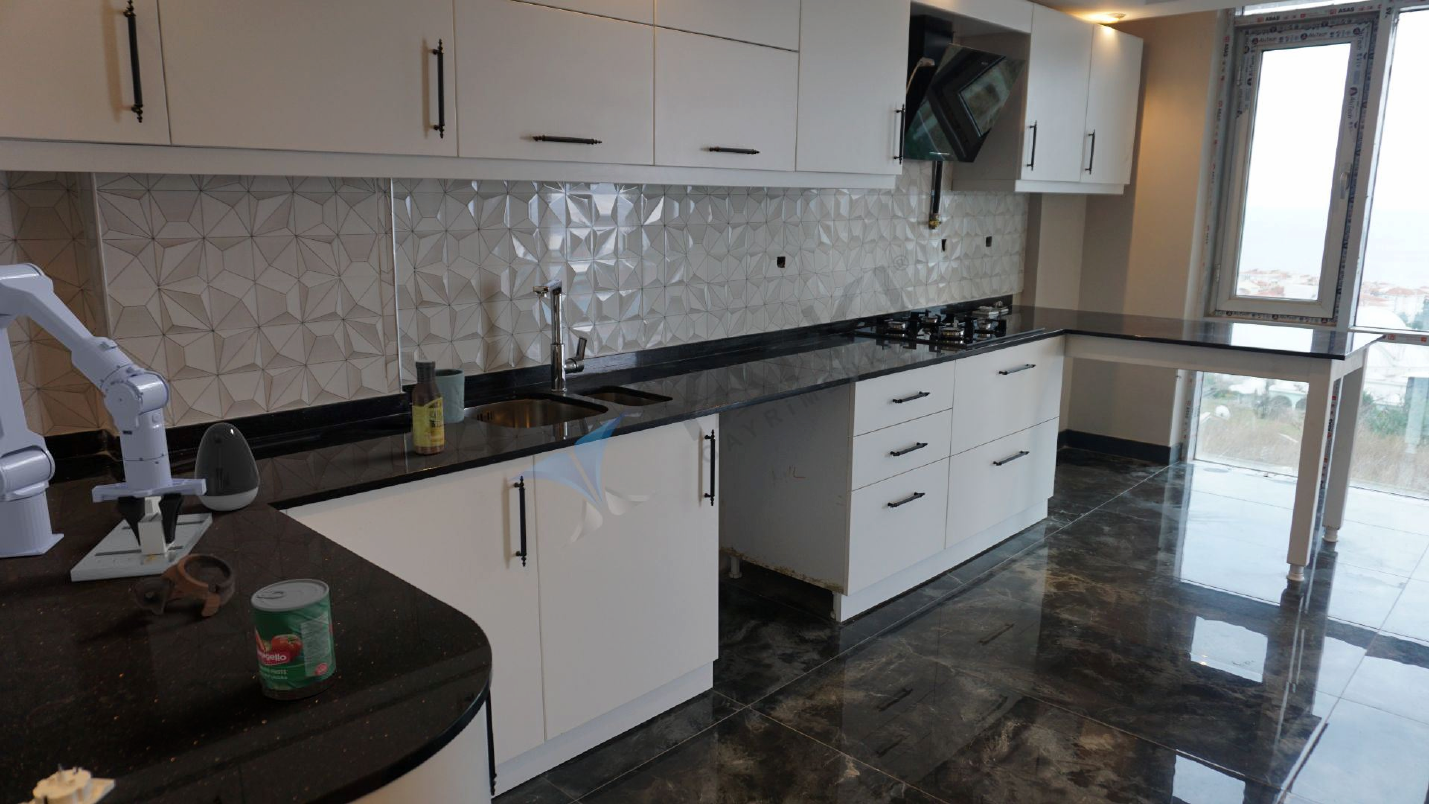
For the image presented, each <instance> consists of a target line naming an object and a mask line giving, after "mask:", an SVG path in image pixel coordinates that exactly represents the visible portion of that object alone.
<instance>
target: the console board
mask: <svg viewBox="0 0 1429 804" xmlns="http://www.w3.org/2000/svg"><path fill="white" fill-rule="evenodd" d="M212 523H213V516H212V512H208V513H207V512H206V513H193V514H192V513H191V514H180V515H179V516H178V520H177V525H176V532H175V540H174V541H173V544H172V545H171V546H170V548H169V549H168V550H167V551H166V552H165V553H163V554H151V555H142V550H141V546H139V544H138V541H137V539H136V537H135V535H134V533H133V531H132V529H131V527H130V526H129V524H128V523H127V521H126V520H125V519H124V518H123V520H122V521H121V522H120V523H119V524H118V525H116V526H115V528H113V529H112V530H111V531H110V532H109V533H108V534H107V535H106V536H105V537H104V538H103V539H102V540H101V541H100V542H99V543H98V544H97V545H96V546H95V547H93V548H92V550H90V552H88V553H87V554H86V555H85V556H84V557H83V558H82V559H81V560H79V562H78V563H77V564H76V565H75V566H74V567H73V568H72V569H71V570H70V577H71V578H70V579H71V582H79V581H81V582H83V581H92V580H103V579H104V580H105V579H114V578H115V579H116V578H127V577H139V576H140V577H141V576H149V575H160V574H161V575H162V574H163V573H164V571H165V570H167V569H168V568H169V567H171V566H172V565H174V564H176V563H178V561H179V560H180V559H181V558H182V557H184V556H186V555H189V553H190V551H191V550H192V549H193V548H194V547H195V546H196V544H197V543H198V541H199V540H200V539H201V537H202V536H203V535H204V533H205V532H206V531H207V530H208V529H209V527H210V526H211V525H212Z"/></svg>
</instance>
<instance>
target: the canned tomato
mask: <svg viewBox="0 0 1429 804" xmlns="http://www.w3.org/2000/svg"><path fill="white" fill-rule="evenodd" d="M329 592H330V588H329V585H328V584H327V583H325V582H324V581H321V580H318V579H311V578H300V579H299V578H296V579H295V578H294V579H288V580H283V581H278V582H275V583H272V584H269V585H267V586H265V587H262V588H260V589H259V590H257V591H256V592H254V594H252V596H251V598H250V603H251V607H252V618H253V625H254V632H255V633H254V634H255V644H256V651H257V659H258V661H257V662H258V669H259V678H260V684H261V683H262V684H263V686H264V687H268V688H270V689H275V690H292V689H293V690H294V689H298V688H301V687H307V686H309V685H312V684H315V683H317V682H321V681H323V680H324V679H327V678H328V677H329V676H331V675H332V673H334V671H335V669H336V670H337V666H336V653H335V642H334V633H333V621H332V614H331V613H332V612H331V602H330V593H329Z"/></svg>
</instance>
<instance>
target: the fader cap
mask: <svg viewBox="0 0 1429 804" xmlns="http://www.w3.org/2000/svg"><path fill="white" fill-rule="evenodd" d="M138 529H139V536H140V543H141V550H142V555H151V554H163V553H165V552H166V551H167V550H168V549H169V548H170V546H171V545H172V544H173V542H172V543H171V544H166V541H165V534H164V523H163V519H162V515H161V513H159V512H158V513H148V514H146V515H145V517H144V518H143V519H142V520H141V521H140V522H139V523H138Z"/></svg>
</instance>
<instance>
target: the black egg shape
mask: <svg viewBox="0 0 1429 804" xmlns="http://www.w3.org/2000/svg"><path fill="white" fill-rule="evenodd" d="M194 479H205V483H206V492H205V493H204V494H203V495H197V496H198V499H199V500H200V502H201V503H202V504H203V505H204V506H206V507H207V508H209V509H211V510H214V511H216V512H217V511H218V512H226V511H227V512H229V511H236V510H238V509H239V510H240V509H242V508H244V507H246V506H248V505H249V504H251V503H252V502H253V501H254V499H255V498H256V496H257V494H258V490H259V486H260V485H261V484H260V483H261V480H260V473H259V471H258V467H257V463H256V461H255V457H254V455H253V453H252V451H251V448H250V446H249V444H248V442H247V440H246V439H245V436H244V435H243V434H242V433H241V431H240V430H239V429H238V428H237V427H236V426H234V425H233V424H231V423H227V422H219V423H215V424H212V425H211V426H209V427H208V428H207V430H206V431H205V432H204V434H203V436H202V438H201V441H200V444H199V448H198V451H197V456H196V461H195V468H194Z"/></svg>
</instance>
